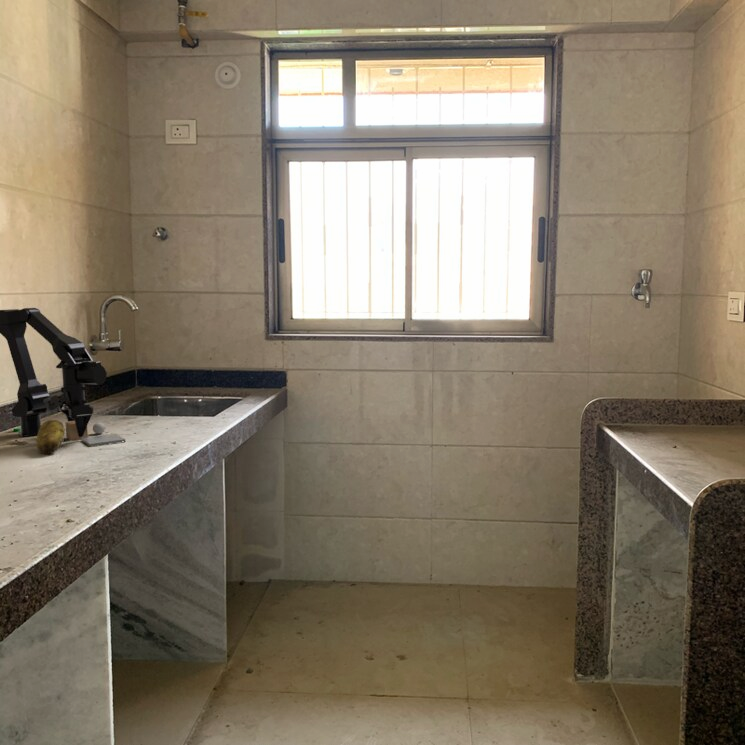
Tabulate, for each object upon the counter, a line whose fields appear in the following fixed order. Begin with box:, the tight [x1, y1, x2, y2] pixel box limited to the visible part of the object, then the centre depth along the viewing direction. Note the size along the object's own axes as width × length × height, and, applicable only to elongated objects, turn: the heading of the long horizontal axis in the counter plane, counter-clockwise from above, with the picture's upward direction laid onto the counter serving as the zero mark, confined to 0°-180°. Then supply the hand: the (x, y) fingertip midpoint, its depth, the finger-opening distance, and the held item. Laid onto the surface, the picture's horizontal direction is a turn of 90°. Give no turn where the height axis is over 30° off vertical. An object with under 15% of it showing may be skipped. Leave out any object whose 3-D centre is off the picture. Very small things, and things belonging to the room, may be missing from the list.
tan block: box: [65, 421, 89, 441], centre depth 216 cm, size 5×5×5 cm
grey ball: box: [92, 422, 106, 435], centre depth 222 cm, size 4×4×4 cm
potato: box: [36, 419, 66, 455], centre depth 200 cm, size 8×13×8 cm, turn 1°
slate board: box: [80, 433, 126, 447], centre depth 211 cm, size 10×10×1 cm
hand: (76, 434), depth 216 cm, fingers open, 9 cm apart
